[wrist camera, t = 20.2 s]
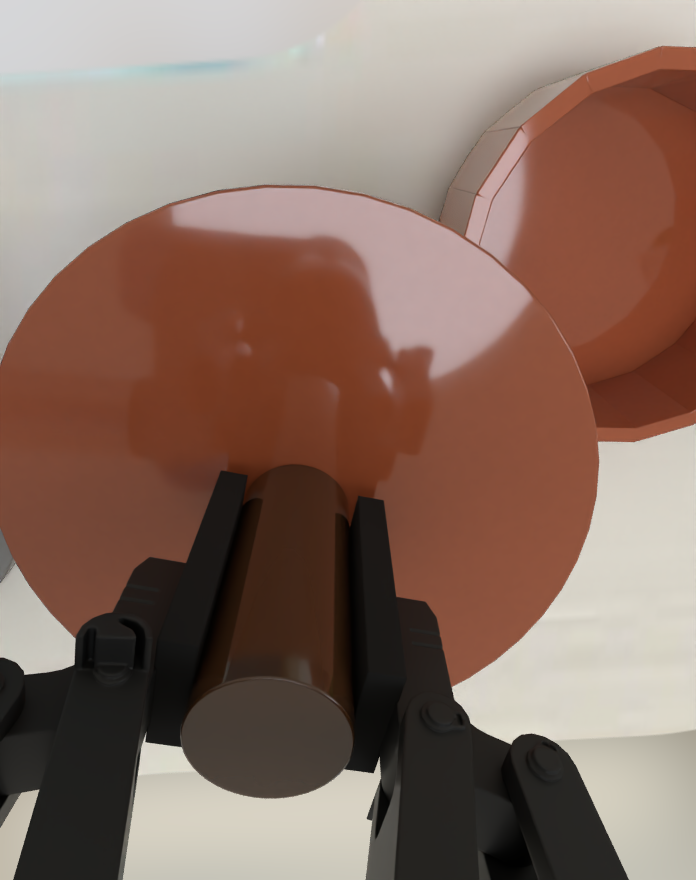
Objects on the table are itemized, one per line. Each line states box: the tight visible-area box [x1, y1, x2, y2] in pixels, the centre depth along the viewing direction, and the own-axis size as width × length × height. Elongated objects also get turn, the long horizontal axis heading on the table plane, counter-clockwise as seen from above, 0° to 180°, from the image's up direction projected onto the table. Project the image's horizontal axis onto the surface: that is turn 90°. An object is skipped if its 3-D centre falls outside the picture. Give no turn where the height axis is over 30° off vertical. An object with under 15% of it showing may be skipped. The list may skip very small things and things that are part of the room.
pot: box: [439, 46, 696, 442], centre depth 30 cm, size 17×17×7 cm
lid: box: [0, 184, 599, 798], centre depth 15 cm, size 18×18×9 cm
